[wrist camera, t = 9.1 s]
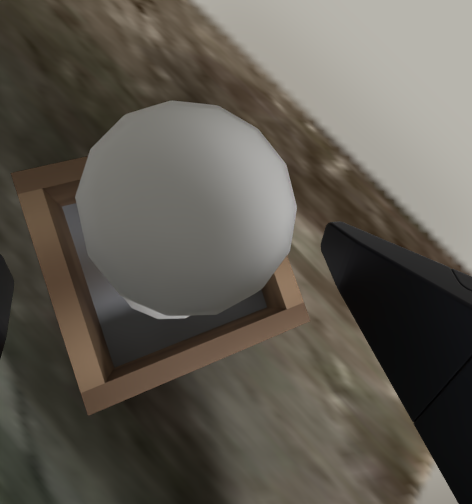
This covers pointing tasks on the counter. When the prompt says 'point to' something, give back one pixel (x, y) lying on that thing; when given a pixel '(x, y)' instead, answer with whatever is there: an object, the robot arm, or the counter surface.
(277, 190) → the salt shaker
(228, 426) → the counter surface
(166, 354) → the shaker dock
